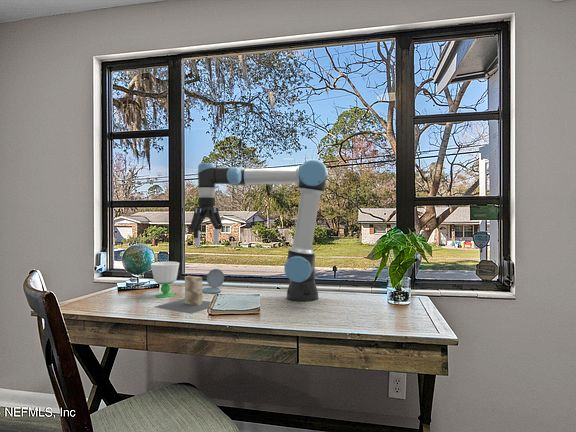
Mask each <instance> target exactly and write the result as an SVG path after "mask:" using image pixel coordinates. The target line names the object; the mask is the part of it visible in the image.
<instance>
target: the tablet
mask: <svg viewBox="0 0 576 432" xmlns="http://www.w3.org/2000/svg"><path fill="white" fill-rule="evenodd" d="M202 289H203V277H202V276H194V275H187V276H186V275H185V276H184V299H185V303H186V304H192V305H198V306H199V305H202V301H203V293H202Z"/></svg>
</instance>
